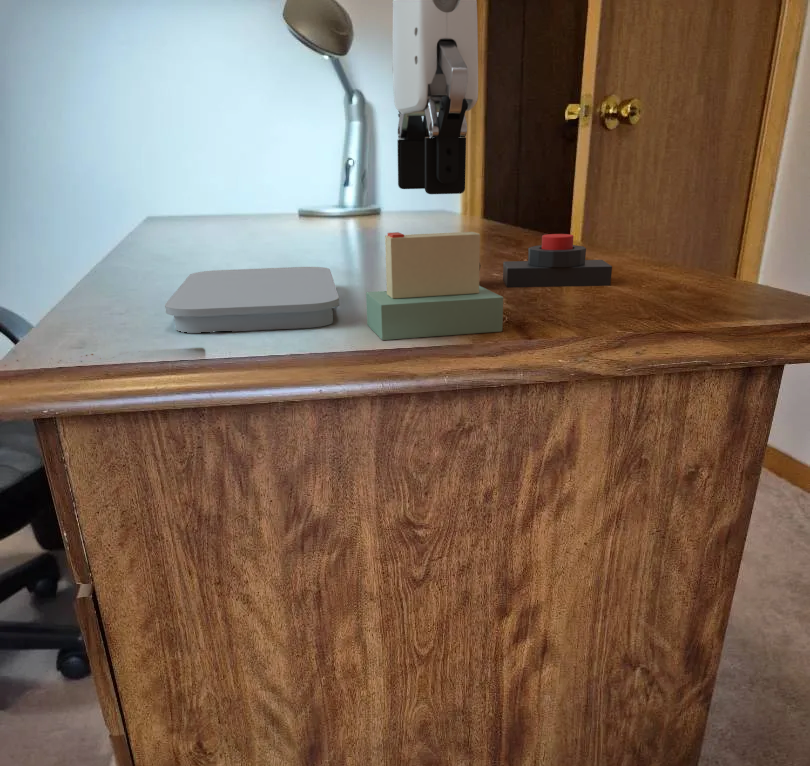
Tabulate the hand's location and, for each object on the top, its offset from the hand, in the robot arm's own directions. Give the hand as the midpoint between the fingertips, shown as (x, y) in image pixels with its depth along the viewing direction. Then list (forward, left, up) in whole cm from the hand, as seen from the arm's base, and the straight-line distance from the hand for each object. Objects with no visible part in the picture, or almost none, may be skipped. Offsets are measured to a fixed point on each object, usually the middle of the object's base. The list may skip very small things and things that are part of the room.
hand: (429, 190), depth 67 cm
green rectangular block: (0, 0, -12) cm, 12 cm away
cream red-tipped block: (0, 0, -9) cm, 9 cm away
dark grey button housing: (+6, -29, -12) cm, 31 cm away
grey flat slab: (+22, +4, -12) cm, 25 cm away
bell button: (+6, -29, -8) cm, 30 cm away
